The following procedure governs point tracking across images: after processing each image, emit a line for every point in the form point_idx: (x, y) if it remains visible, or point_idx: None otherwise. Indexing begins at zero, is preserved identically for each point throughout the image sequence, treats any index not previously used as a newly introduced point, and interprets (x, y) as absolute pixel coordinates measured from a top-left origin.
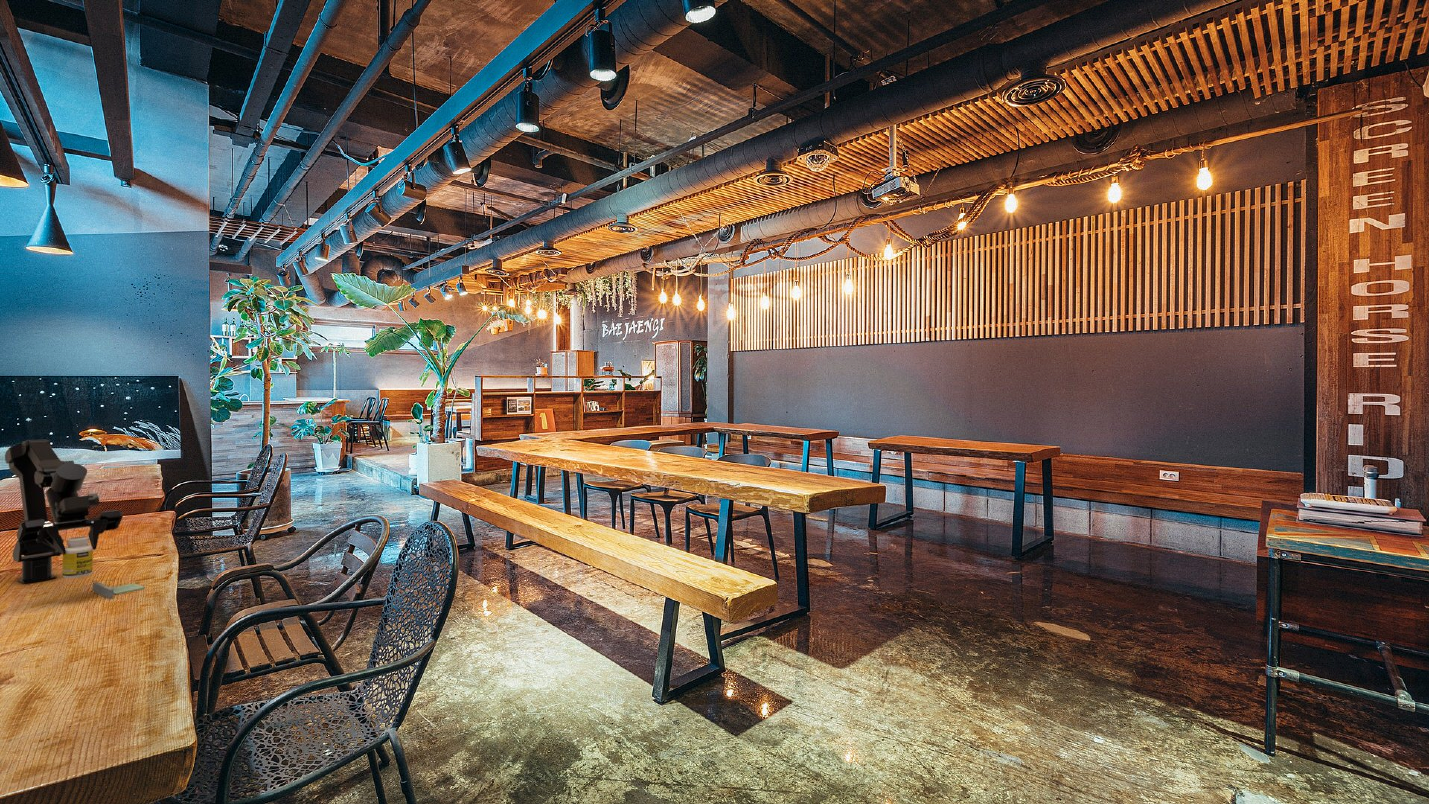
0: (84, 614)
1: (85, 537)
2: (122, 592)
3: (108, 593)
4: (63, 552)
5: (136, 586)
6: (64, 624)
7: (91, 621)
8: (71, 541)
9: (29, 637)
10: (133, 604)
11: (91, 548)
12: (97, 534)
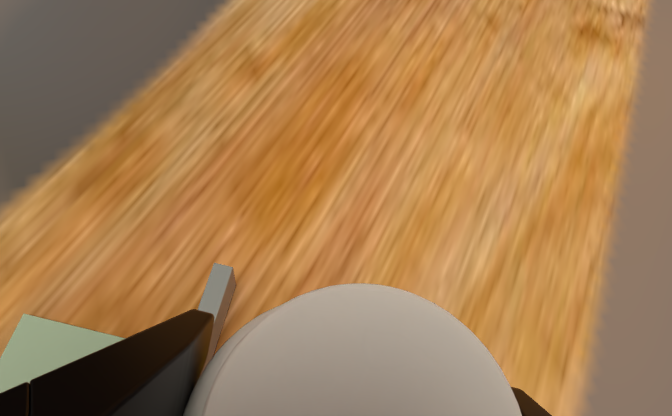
0: (409, 162)
1: (261, 408)
2: None
3: (228, 292)
4: (518, 393)
5: (9, 384)
6: (494, 115)
7: (438, 66)
8: (495, 367)
9: (594, 90)
10: (259, 112)
11: (243, 327)
12: (29, 395)
